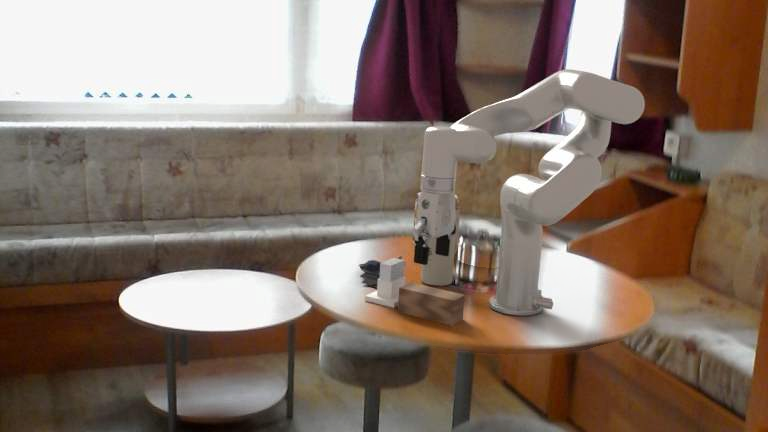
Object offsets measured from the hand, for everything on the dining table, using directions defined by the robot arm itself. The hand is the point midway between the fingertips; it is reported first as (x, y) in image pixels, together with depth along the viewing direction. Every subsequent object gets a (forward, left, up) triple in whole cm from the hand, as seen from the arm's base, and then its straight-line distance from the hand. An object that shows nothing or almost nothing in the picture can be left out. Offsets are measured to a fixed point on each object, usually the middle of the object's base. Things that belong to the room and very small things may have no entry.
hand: (431, 259), depth 194 cm
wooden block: (0, 0, -14) cm, 14 cm away
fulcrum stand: (+13, -4, -13) cm, 19 cm away
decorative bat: (+25, -18, -14) cm, 34 cm away
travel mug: (+11, -23, -14) cm, 29 cm away
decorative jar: (+27, -51, -14) cm, 60 cm away
